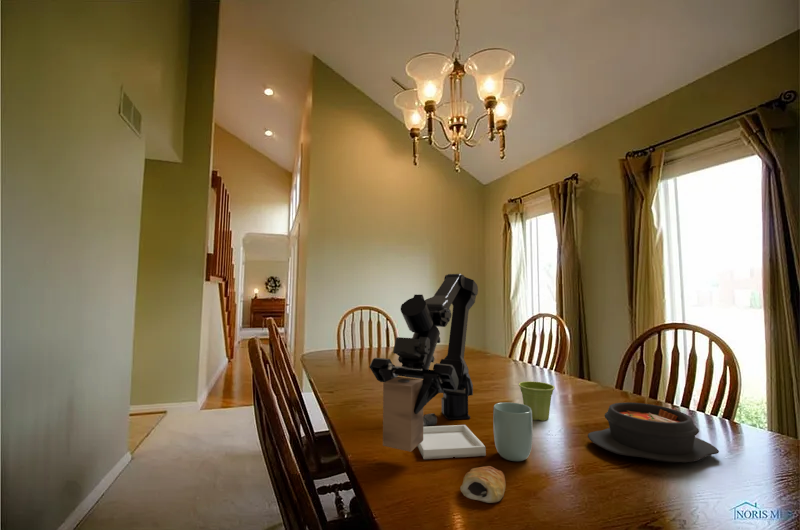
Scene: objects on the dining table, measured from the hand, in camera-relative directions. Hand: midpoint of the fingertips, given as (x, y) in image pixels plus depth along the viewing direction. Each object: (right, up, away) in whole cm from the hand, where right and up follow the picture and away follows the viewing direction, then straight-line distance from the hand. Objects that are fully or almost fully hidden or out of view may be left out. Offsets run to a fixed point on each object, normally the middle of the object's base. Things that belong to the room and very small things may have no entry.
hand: (400, 410), depth 72 cm
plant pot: (+38, -14, +29) cm, 50 cm away
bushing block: (+1, -7, +1) cm, 7 cm away
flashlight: (+4, -12, +20) cm, 24 cm away
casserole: (+54, -12, +7) cm, 56 cm away
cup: (+23, -11, +4) cm, 26 cm away
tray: (+10, -12, +10) cm, 18 cm away
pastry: (+14, -10, -9) cm, 20 cm away
